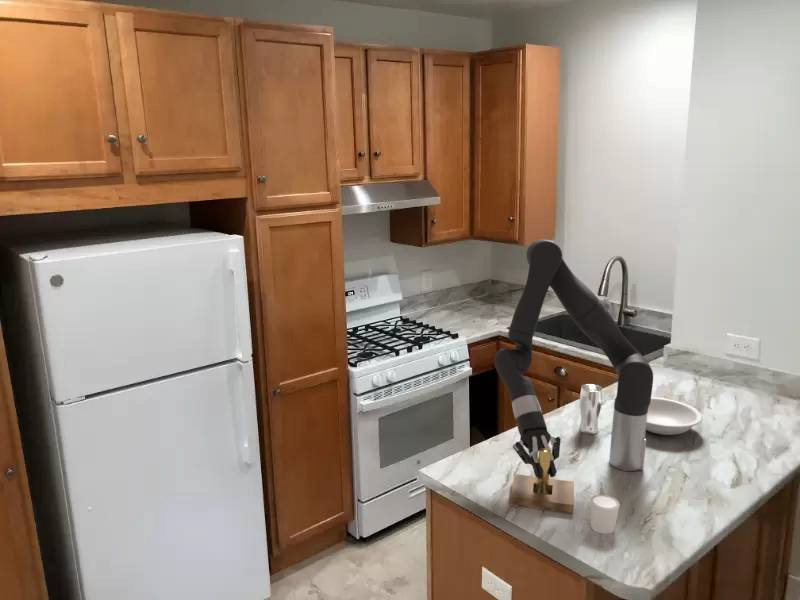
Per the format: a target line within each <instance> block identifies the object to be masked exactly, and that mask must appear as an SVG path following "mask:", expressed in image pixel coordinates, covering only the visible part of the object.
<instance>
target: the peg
mask: <svg viewBox="0 0 800 600" xmlns="http://www.w3.org/2000/svg"><path fill="white" fill-rule="evenodd" d="M551 453H552V450H551V451H550V450H549V449H547V448H541V449H539V451H538V463H540V466H541V469H542V473H543V478H542V479H538V477H537V489H536V492H535V493H541V494H548V495H549V493H548V484H549V479H550V475H549V469H550V454H551Z"/></svg>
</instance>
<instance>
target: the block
mask: <svg viewBox="0 0 800 600" xmlns="http://www.w3.org/2000/svg"><path fill="white" fill-rule="evenodd" d="M536 489H537V477H536V476H535V475H534V476H532V475H524V474H517V473H514V475H513V479H512V485H511V491H510V496H509V497H510V499H509V500H510V501H509V505H510V504H512V505H511V506H513V505H517V506H516V507H521V506H523V507H522V508H528V507H529V508H530V509H535V508H536V509H535V510H542V511H543V510H544V511H549V512H550V511H551V512H557V513H564V514H573V515H574V509H575V482H574V481H571V480H565V479H555V478H549V484H548V494H541V493H537V492H536Z"/></svg>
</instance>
